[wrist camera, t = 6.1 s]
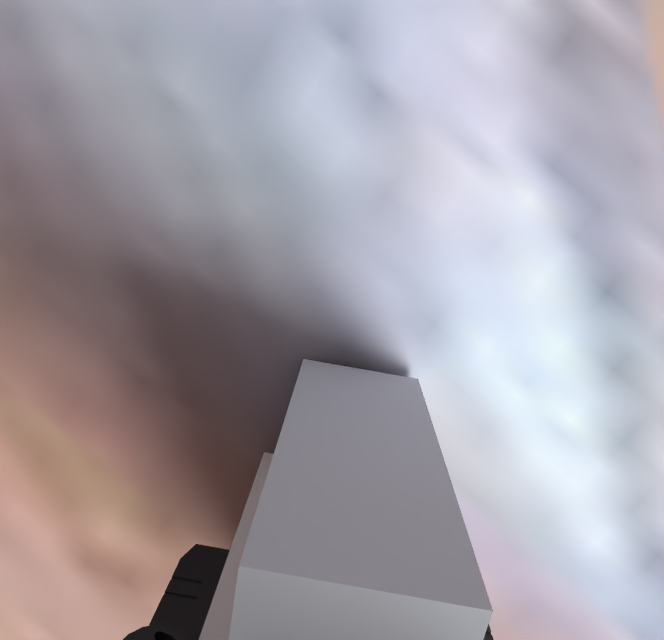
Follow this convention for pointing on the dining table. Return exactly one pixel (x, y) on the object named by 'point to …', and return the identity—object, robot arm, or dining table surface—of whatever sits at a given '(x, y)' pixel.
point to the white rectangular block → (358, 522)
